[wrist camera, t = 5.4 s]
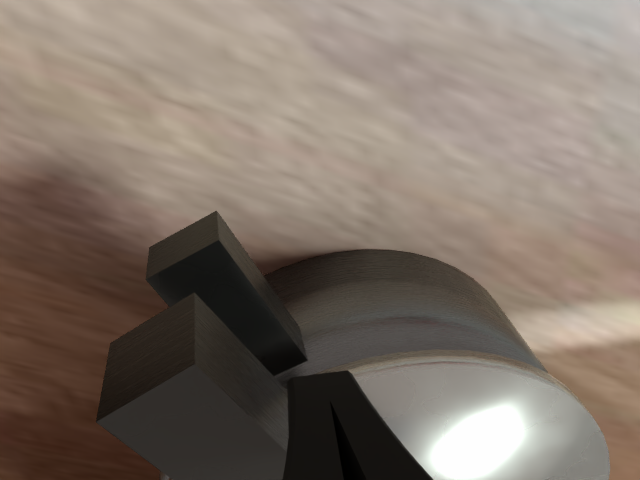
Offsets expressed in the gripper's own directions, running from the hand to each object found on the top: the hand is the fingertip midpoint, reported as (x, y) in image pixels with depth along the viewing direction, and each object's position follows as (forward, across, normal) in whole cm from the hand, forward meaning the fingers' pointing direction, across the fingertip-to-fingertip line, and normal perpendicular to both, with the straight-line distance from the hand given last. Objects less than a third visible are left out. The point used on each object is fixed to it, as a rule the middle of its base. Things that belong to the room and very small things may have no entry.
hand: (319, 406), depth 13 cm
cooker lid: (+3, -2, +8) cm, 9 cm away
